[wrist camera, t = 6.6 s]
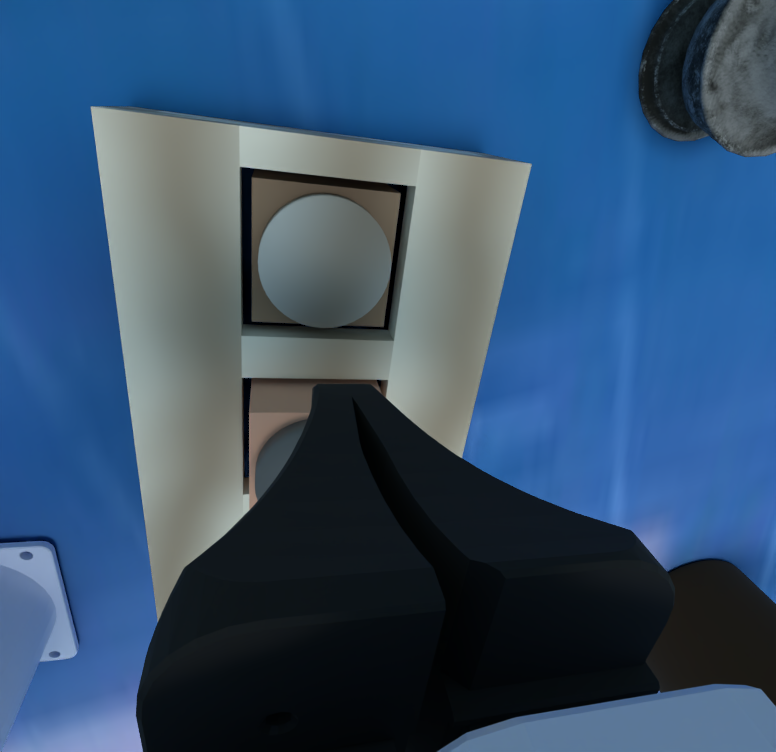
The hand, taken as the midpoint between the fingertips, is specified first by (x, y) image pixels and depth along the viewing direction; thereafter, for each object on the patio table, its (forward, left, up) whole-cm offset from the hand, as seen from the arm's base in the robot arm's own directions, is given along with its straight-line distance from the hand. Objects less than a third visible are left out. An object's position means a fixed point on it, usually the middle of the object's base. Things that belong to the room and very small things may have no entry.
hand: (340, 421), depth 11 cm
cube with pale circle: (0, +2, -9) cm, 9 cm away
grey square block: (0, -4, -9) cm, 10 cm away
